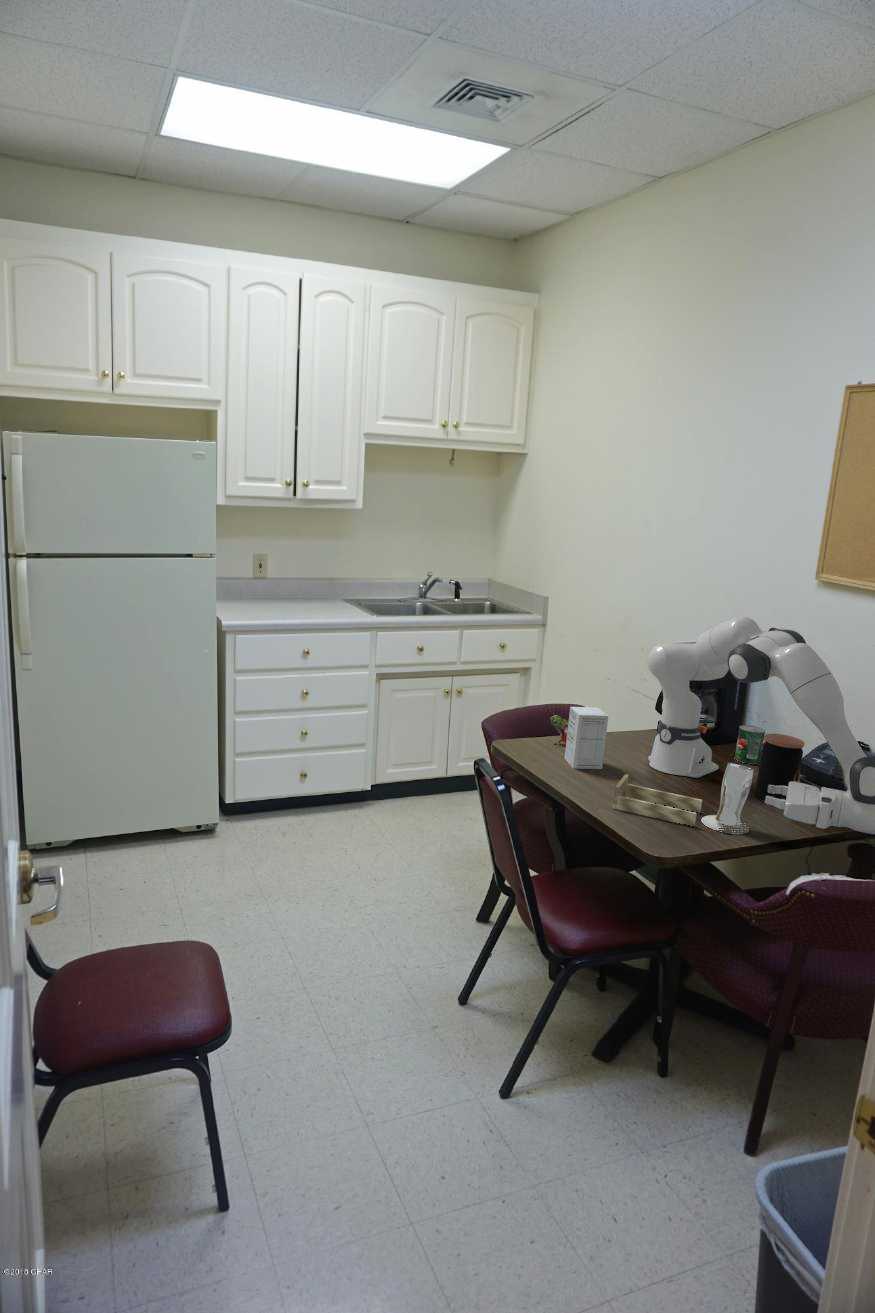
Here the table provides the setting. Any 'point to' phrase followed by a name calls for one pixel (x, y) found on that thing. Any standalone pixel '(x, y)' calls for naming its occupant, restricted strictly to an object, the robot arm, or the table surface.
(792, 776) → the coffee jar
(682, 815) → the maple lane
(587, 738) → the supplement box
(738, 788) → the heart stem goblet
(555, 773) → the table surface
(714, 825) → the grey coaster
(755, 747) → the canned tomato
